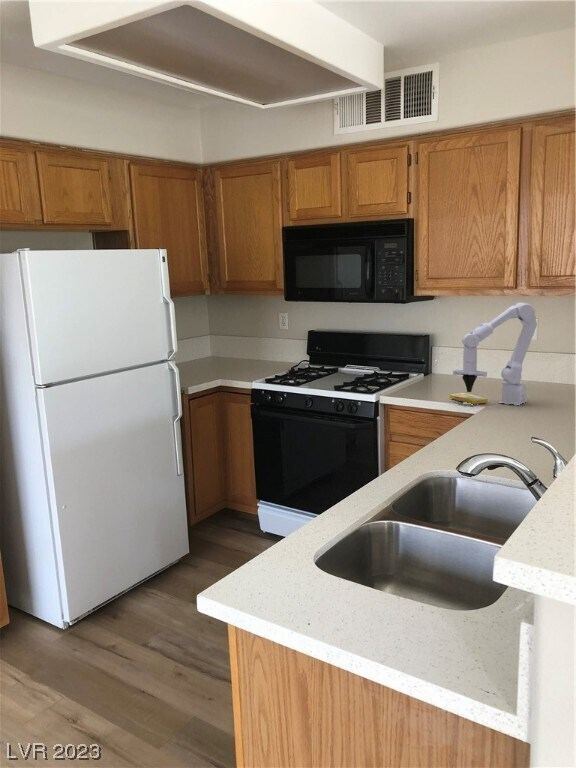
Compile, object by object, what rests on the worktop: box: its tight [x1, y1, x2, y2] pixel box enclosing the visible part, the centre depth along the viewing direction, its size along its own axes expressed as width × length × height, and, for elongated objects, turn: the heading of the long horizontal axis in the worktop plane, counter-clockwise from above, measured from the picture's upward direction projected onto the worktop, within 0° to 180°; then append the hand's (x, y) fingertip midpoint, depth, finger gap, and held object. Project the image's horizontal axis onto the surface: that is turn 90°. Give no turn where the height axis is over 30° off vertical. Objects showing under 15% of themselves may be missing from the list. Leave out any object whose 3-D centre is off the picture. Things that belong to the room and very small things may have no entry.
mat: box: [457, 402, 478, 408], centre depth 271 cm, size 7×10×1 cm
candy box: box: [449, 392, 489, 405], centre depth 276 cm, size 16×2×8 cm
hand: (469, 391), depth 271 cm, fingers closed
